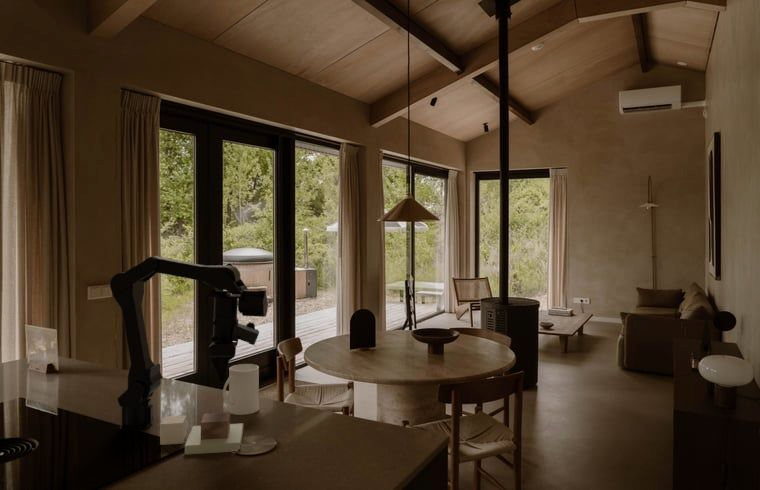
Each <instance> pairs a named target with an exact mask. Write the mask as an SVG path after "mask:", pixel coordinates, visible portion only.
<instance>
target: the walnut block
mask: <svg viewBox="0 0 760 490" xmlns="http://www.w3.org/2000/svg"><path fill="white" fill-rule="evenodd" d="M230 424H231V413H230V412H228V411H226V412H211V413H204V414H203V415H202V418H201V420H200V426H201V440H204V439H222V438H228V434H229V430H230Z"/></svg>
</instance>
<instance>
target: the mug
mask: <svg viewBox="0 0 760 490" xmlns="http://www.w3.org/2000/svg"><path fill="white" fill-rule="evenodd" d="M259 368H260V367H259V365H257V364H253V363H238V364H235V365H232V366H230V367H228V369H229V371H228V373H229V374H228V378H227V380H226V381H225V383H224V385H223V389H222V396H223V399H224V401H225V403H227V404H228V408H227V412H230V415H236V416H245V415H251V414H255V413H256V412H258V411H259V410H260V404H259V397H260V395H259V391H260V390H259V388H260V386H259V384H260V381H259V379H260V377H259V376H260V375H259V374H260V369H259ZM227 387H228V398H227V395H226V391H227Z"/></svg>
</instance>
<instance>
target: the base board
mask: <svg viewBox="0 0 760 490" xmlns="http://www.w3.org/2000/svg"><path fill="white" fill-rule="evenodd" d="M243 433H244V423H243V422H242V423H230V430H229V434H228V438H222V439H204V440H201V425H193V426H192V428H191V430H190V433H189V435H188V437H187V440H186V442H185V444H184V455H197V454H198V455H199V454H201V455H202V454H212V453H213V454H215V453H217V454H218V453H231V452H232V450H236V449H240V450H241V447H240V445H241V446H242V439H243ZM232 453H233V452H232Z"/></svg>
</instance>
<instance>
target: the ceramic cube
mask: <svg viewBox="0 0 760 490" xmlns="http://www.w3.org/2000/svg"><path fill="white" fill-rule="evenodd" d="M159 425H160V426H159V428H160V429H159V431H160V435H159V437H160V439H159V441H160V443H159V445H160V446H161V445H162V446H163V445H164V446H165V445H178V444H184V443H185V442H184V441H185V439H186V436H187V415H172V416H171V415H170V416H168V415H167V416H164V417H163V419H162V420H161V422H160V424H159Z"/></svg>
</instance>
